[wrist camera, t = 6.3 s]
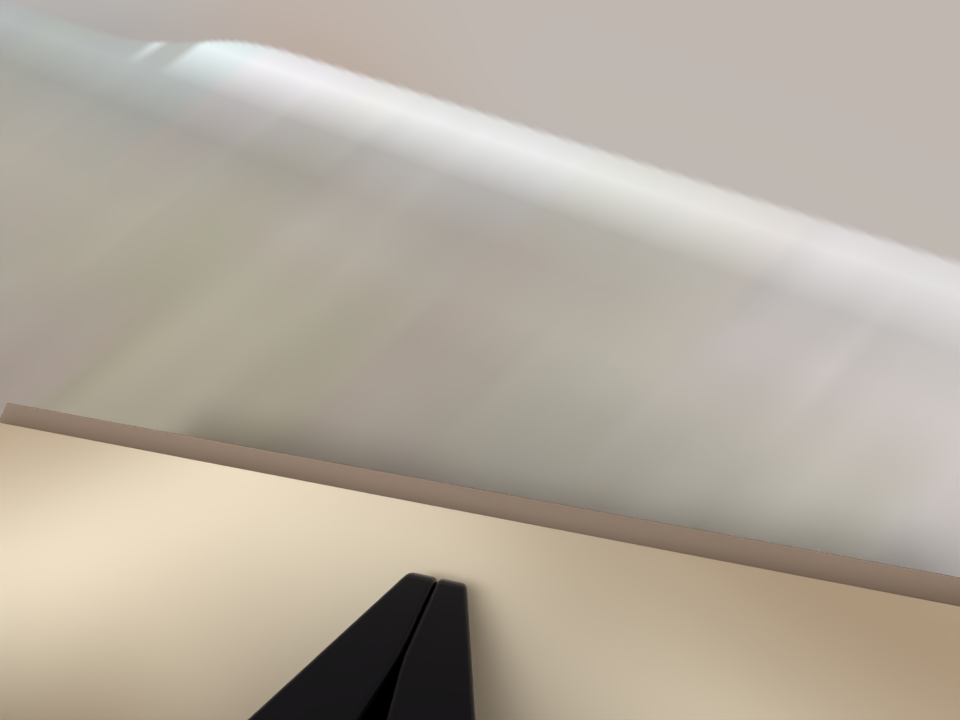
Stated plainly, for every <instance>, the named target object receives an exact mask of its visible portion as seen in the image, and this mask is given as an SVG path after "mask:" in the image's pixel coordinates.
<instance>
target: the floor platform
mask: <svg viewBox="0 0 960 720" xmlns="http://www.w3.org/2000/svg"><path fill="white" fill-rule="evenodd" d="M0 423H3V424H9V425H14V426H19V427H24V428H29V429H35V430H40V431H45V432H50V433H56V434H61V435H66V436H71V437H76V438H82V439H87V440H92V441H97V442H103V443H108V444H113V445H118V446H123V447H129V448H134V449H139V450H144V451H150V452H155V453H160V454H165V455H170V456H176V457H181V458H186V459H191V460H196V461H202V462H207V463H212V464H217V465H223V466H228V467H233V468H238V469H243V470H249V471H254V472H259V473H264V474H270V475H275V476H280V477H285V478H290V479H296V480H301V481H306V482H311V483H317V484H322V485H327V486H332V487H337V488H343V489H348V490H353V491H358V492H364V493H369V494H374V495H379V496H384V497H390V498H395V499H400V500H405V501H411V502H416V503H421V504H426V505H431V506H437V507H442V508H447V509H452V510H458V511H463V512H468V513H473V514H478V515H484V516H489V517H494V518H499V519H505V520H510V521H515V522H520V523H525V524H531V525H536V526H541V527H546V528H552V529H557V530H562V531H567V532H572V533H578V534H583V535H588V536H593V537H599V538H604V539H609V540H614V541H619V542H625V543H630V544H635V545H640V546H646V547H651V548H656V549H661V550H666V551H672V552H677V553H682V554H687V555H693V556H698V557H703V558H708V559H713V560H719V561H724V562H729V563H734V564H740V565H745V566H750V567H755V568H760V569H766V570H771V571H776V572H781V573H787V574H792V575H797V576H802V577H807V578H813V579H818V580H823V581H828V582H834V583H839V584H844V585H849V586H854V587H860V588H865V589H870V590H875V591H881V592H886V593H891V594H896V595H901V596H907V597H912V598H917V599H922V600H928V601H933V602H938V603H943V604H948V605H954V606H959V607H960V578H959V577H954V576H948V575H943V574H937V573H932V572H926V571H921V570H916V569H910V568H905V567H899V566H894V565H888V564H883V563H877V562H872V561H867V560H861V559H856V558H850V557H845V556H839V555H834V554H828V553H823V552H817V551H812V550H807V549H801V548H796V547H790V546H785V545H779V544H774V543H768V542H763V541H758V540H752V539H747V538H741V537H736V536H730V535H725V534H719V533H714V532H709V531H703V530H698V529H692V528H687V527H681V526H676V525H670V524H665V523H660V522H654V521H649V520H643V519H638V518H632V517H627V516H621V515H616V514H611V513H605V512H600V511H594V510H589V509H583V508H578V507H572V506H567V505H561V504H556V503H551V502H545V501H540V500H534V499H529V498H523V497H518V496H512V495H507V494H502V493H496V492H491V491H485V490H480V489H474V488H469V487H463V486H458V485H453V484H447V483H442V482H436V481H431V480H425V479H420V478H414V477H409V476H404V475H398V474H393V473H387V472H382V471H376V470H371V469H365V468H360V467H354V466H349V465H344V464H338V463H333V462H327V461H322V460H316V459H311V458H305V457H300V456H295V455H289V454H284V453H278V452H273V451H267V450H262V449H256V448H251V447H246V446H240V445H235V444H229V443H224V442H218V441H213V440H207V439H202V438H197V437H191V436H186V435H180V434H175V433H169V432H164V431H158V430H153V429H148V428H142V427H137V426H131V425H126V424H120V423H115V422H109V421H104V420H98V419H93V418H88V417H82V416H77V415H71V414H66V413H60V412H55V411H49V410H44V409H39V408H33V407H28V406H22V405H17V404H11V403H7V404H6V407H5V409H4V411H3V414H2V416H1V418H0Z"/></svg>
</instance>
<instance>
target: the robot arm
mask: <svg viewBox="0 0 960 720" xmlns="http://www.w3.org/2000/svg"><path fill="white" fill-rule="evenodd" d="M248 720H476V717H475V701H474V686H473V670H472V654H471V638H470V623H469V607H468V592H467V586H466V585H465V584H464V583H461V582H456V581H452V580H447V579H440V580H439V581H438V582H437V579H436V578H435V577H433V576H428V575H424V574H419V573H412V572H411V573H408V574H406V575H405V576H404V577H403V578H402V579H400V580H399V581H398V582H397V583H396V584H395V585H394V586H393V587H392V588H391V589H390V590H388V591H387V592H386V593H385V594H384V595H383V596H382V597H381V598H380V599H379V600H378V601H376V602H375V603H374V604H373V605H372V606H371V607H370V608H369V609H368V610H367V611H366V612H364V613H363V614H362V615H361V616H360V617H359V618H358V619H357V620H356V621H355V622H354V623H352V624H351V625H350V626H349V627H348V628H347V629H346V630H345V631H344V632H343V633H342V634H340V635H339V636H338V637H337V638H336V639H335V640H334V641H333V642H332V643H331V644H330V645H328V646H327V647H326V648H325V649H324V650H323V651H322V652H321V653H320V654H319V655H318V656H316V657H315V658H314V659H313V660H312V661H311V662H310V663H309V664H308V665H307V666H306V667H304V668H303V669H302V670H301V671H300V672H299V673H298V674H297V675H296V676H295V677H294V678H292V679H291V680H290V681H289V682H288V683H287V684H286V685H285V686H284V687H283V688H282V689H280V690H279V691H278V692H277V693H276V694H275V695H274V696H273V697H272V698H271V699H270V700H268V701H267V702H266V703H265V704H264V705H263V706H262V707H261V708H260V709H259V710H258V711H256V712H255V713H254V714H253V715H252V716H251V717H250V718H249V719H248Z"/></svg>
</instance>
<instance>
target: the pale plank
mask: <svg viewBox="0 0 960 720" xmlns="http://www.w3.org/2000/svg"><path fill="white" fill-rule="evenodd" d="M411 572H412V573H419V574H424V575H428V576H433V577H435V578H436V579H437V582H438V581H439V580H440V579H447V580H452V581H456V582H461V583H464V584H465V585H466V586H467V592H468V607H469V623H470V638H471V654H472V670H473V686H474V701H475V717H476V720H960V607H959V606H954V605H948V604H943V603H938V602H933V601H928V600H922V599H917V598H912V597H907V596H901V595H896V594H891V593H886V592H881V591H875V590H870V589H865V588H860V587H854V586H849V585H844V584H839V583H834V582H828V581H823V580H818V579H813V578H807V577H802V576H797V575H792V574H787V573H781V572H776V571H771V570H766V569H760V568H755V567H750V566H745V565H740V564H734V563H729V562H724V561H719V560H713V559H708V558H703V557H698V556H693V555H687V554H682V553H677V552H672V551H666V550H661V549H656V548H651V547H646V546H640V545H635V544H630V543H625V542H619V541H614V540H609V539H604V538H599V537H593V536H588V535H583V534H578V533H572V532H567V531H562V530H557V529H552V528H546V527H541V526H536V525H531V524H525V523H520V522H515V521H510V520H505V519H499V518H494V517H489V516H484V515H478V514H473V513H468V512H463V511H458V510H452V509H447V508H442V507H437V506H431V505H426V504H421V503H416V502H411V501H405V500H400V499H395V498H390V497H384V496H379V495H374V494H369V493H364V492H358V491H353V490H348V489H343V488H337V487H332V486H327V485H322V484H317V483H311V482H306V481H301V480H296V479H290V478H285V477H280V476H275V475H270V474H264V473H259V472H254V471H249V470H243V469H238V468H233V467H228V466H223V465H217V464H212V463H207V462H202V461H196V460H191V459H186V458H181V457H176V456H170V455H165V454H160V453H155V452H150V451H144V450H139V449H134V448H129V447H123V446H118V445H113V444H108V443H103V442H97V441H92V440H87V439H82V438H76V437H71V436H66V435H61V434H56V433H50V432H45V431H40V430H35V429H29V428H24V427H19V426H14V425H9V424H3V423H0V720H248V719H249V718H250V717H251V716H252V715H253V714H254V713H255V712H256V711H258V710H259V709H260V708H261V707H262V706H263V705H264V704H265V703H266V702H267V701H268V700H270V699H271V698H272V697H273V696H274V695H275V694H276V693H277V692H278V691H279V690H280V689H282V688H283V687H284V686H285V685H286V684H287V683H288V682H289V681H290V680H291V679H292V678H294V677H295V676H296V675H297V674H298V673H299V672H300V671H301V670H302V669H303V668H304V667H306V666H307V665H308V664H309V663H310V662H311V661H312V660H313V659H314V658H315V657H316V656H318V655H319V654H320V653H321V652H322V651H323V650H324V649H325V648H326V647H327V646H328V645H330V644H331V643H332V642H333V641H334V640H335V639H336V638H337V637H338V636H339V635H340V634H342V633H343V632H344V631H345V630H346V629H347V628H348V627H349V626H350V625H351V624H352V623H354V622H355V621H356V620H357V619H358V618H359V617H360V616H361V615H362V614H363V613H364V612H366V611H367V610H368V609H369V608H370V607H371V606H372V605H373V604H374V603H375V602H376V601H378V600H379V599H380V598H381V597H382V596H383V595H384V594H385V593H386V592H387V591H388V590H390V589H391V588H392V587H393V586H394V585H395V584H396V583H397V582H398V581H399V580H400V579H402V578H403V577H404V576H405V575H406V574H408V573H411Z"/></svg>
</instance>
